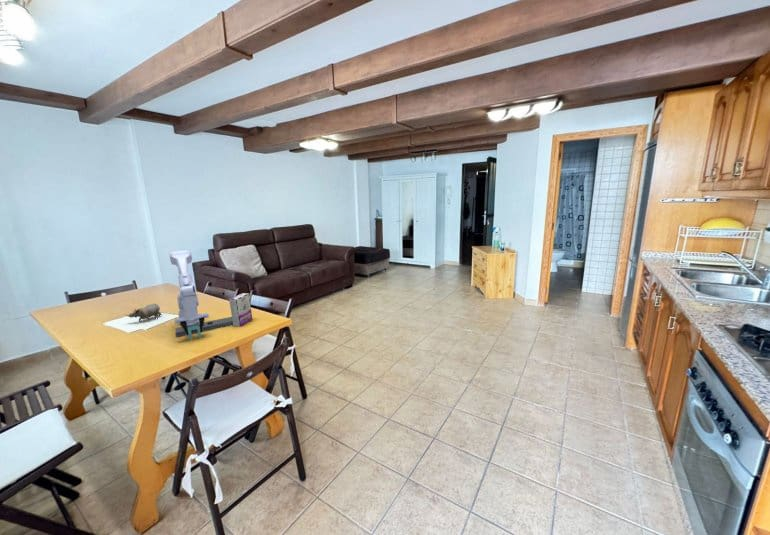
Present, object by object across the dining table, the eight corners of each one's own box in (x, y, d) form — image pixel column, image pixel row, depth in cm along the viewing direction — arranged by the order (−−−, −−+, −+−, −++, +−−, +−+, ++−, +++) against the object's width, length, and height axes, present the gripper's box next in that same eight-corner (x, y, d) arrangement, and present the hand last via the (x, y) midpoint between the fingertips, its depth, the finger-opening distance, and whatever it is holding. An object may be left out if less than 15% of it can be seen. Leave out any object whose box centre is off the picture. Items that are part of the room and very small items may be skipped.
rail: (175, 337, 155) (175, 332, 155) (176, 332, 162) (175, 327, 161) (235, 324, 170) (234, 320, 170) (233, 320, 177) (232, 316, 176)
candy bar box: (245, 319, 179) (242, 292, 175) (252, 319, 178) (249, 293, 174) (232, 326, 168) (228, 298, 164) (240, 327, 167) (236, 299, 163)
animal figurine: (170, 312, 186) (149, 297, 177) (151, 330, 178) (128, 315, 169) (165, 311, 190) (144, 296, 181) (147, 329, 183) (124, 314, 174)
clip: (189, 339, 152) (187, 328, 151) (189, 338, 154) (187, 326, 153) (201, 337, 155) (199, 325, 153) (201, 335, 157) (199, 324, 155)
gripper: (172, 313, 144) (177, 339, 147) (207, 307, 152) (211, 332, 154) (173, 309, 150) (177, 334, 152) (206, 304, 157) (210, 328, 160)
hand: (194, 333), depth 154 cm, fingers closed on clip, 5 cm apart
